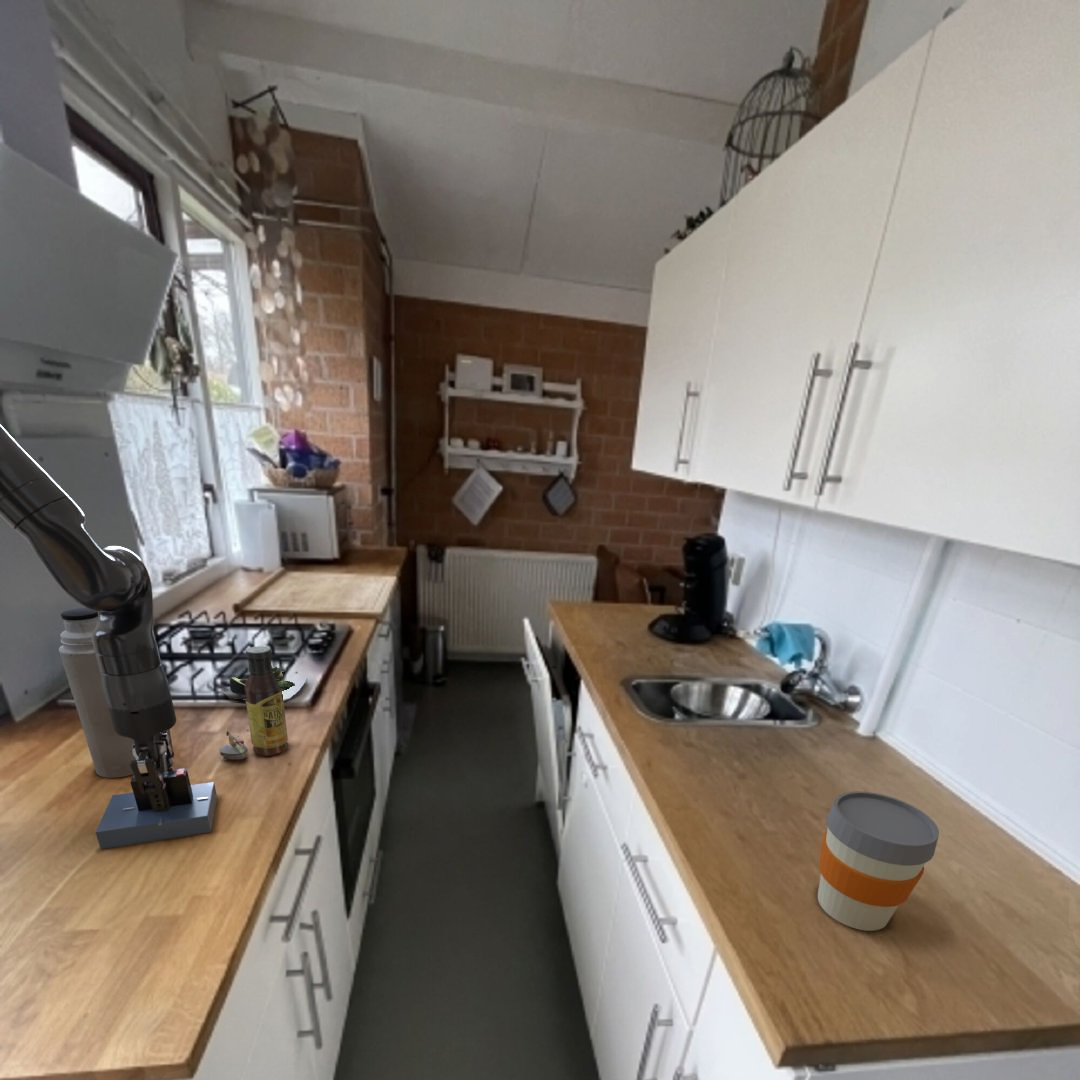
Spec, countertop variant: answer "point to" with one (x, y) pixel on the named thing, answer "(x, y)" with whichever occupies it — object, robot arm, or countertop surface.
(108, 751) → the thermos bottle
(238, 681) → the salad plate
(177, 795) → the black and red block
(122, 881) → the countertop surface
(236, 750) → the figurine
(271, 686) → the sauce bottle
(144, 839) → the rotary switch base
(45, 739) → the countertop surface
